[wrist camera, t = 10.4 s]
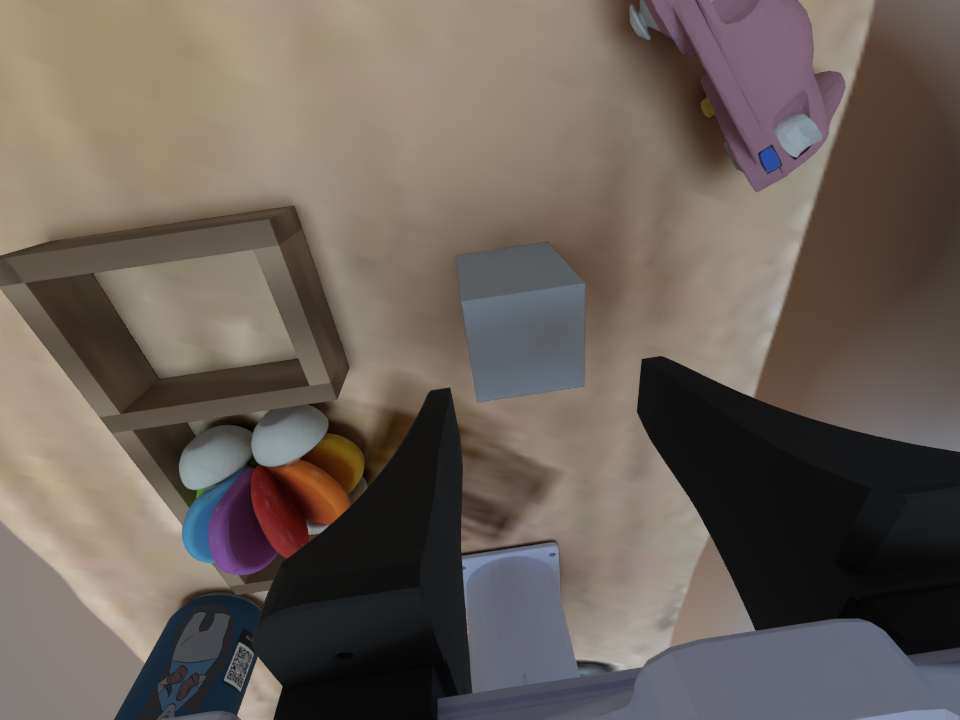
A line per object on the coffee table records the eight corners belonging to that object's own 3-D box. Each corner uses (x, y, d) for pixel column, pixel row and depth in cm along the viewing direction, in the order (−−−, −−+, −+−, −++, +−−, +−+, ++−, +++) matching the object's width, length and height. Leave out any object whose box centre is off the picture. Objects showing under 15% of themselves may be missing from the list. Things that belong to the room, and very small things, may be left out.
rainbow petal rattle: (393, 480, 27) (377, 588, 21) (261, 518, 28) (207, 632, 21) (332, 379, 23) (290, 476, 16) (178, 427, 23) (82, 537, 17)
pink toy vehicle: (608, -43, 16) (596, -17, 11) (734, -186, 13) (786, -229, 8) (722, 158, 20) (746, 234, 15) (839, 84, 17) (912, 153, 12)
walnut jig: (405, 530, 29) (401, 570, 27) (254, 553, 29) (236, 595, 27) (294, 205, 18) (268, 219, 15) (47, 241, 18) (-21, 261, 15)
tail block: (551, 324, 22) (584, 386, 17) (469, 337, 22) (477, 402, 17) (547, 241, 20) (585, 283, 14) (456, 255, 20) (460, 301, 14)
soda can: (212, 641, 34) (113, 863, 24) (158, 599, 31) (15, 836, 21) (287, 623, 34) (219, 841, 24) (241, 578, 30) (137, 810, 20)
